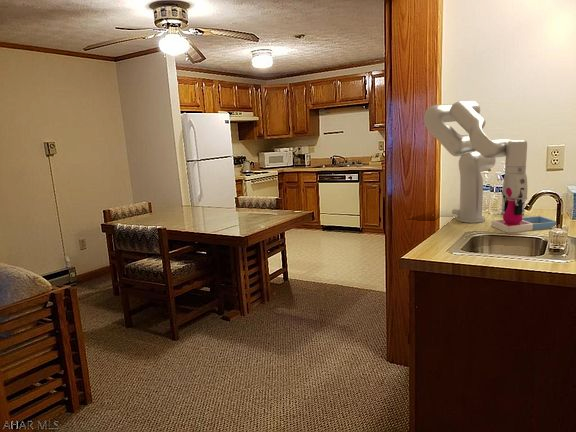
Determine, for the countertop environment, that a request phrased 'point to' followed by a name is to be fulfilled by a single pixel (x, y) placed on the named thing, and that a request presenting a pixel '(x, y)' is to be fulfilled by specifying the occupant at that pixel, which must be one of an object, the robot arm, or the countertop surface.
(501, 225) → the frame
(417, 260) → the countertop surface
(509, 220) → the pepper mill
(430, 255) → the countertop surface
